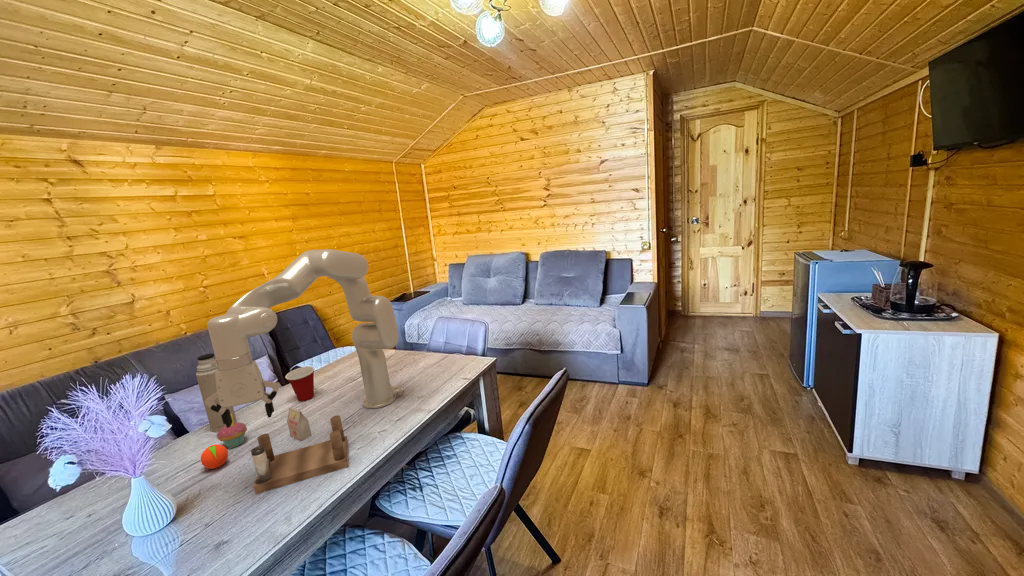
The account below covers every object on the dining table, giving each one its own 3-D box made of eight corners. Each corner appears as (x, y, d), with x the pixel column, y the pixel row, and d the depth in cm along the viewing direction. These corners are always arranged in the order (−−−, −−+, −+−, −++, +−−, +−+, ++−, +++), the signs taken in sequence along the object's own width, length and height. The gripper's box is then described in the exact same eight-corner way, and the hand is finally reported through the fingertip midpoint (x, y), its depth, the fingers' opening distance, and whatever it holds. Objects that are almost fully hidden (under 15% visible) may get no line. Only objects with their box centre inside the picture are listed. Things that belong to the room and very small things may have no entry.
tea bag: (300, 431, 145) (295, 405, 143) (311, 435, 142) (305, 408, 139) (290, 436, 142) (284, 409, 140) (301, 441, 139) (295, 414, 136)
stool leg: (260, 465, 122) (253, 438, 120) (273, 461, 123) (266, 434, 121) (257, 483, 114) (250, 454, 112) (271, 478, 115) (263, 449, 113)
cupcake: (255, 438, 144) (247, 406, 141) (232, 452, 136) (223, 419, 133) (237, 435, 146) (229, 404, 144) (214, 449, 139) (204, 417, 136)
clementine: (233, 466, 128) (227, 445, 127) (206, 478, 123) (200, 456, 122) (228, 456, 134) (222, 436, 132) (201, 467, 129) (196, 447, 128)
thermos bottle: (206, 433, 150) (186, 361, 144) (219, 422, 158) (200, 352, 152) (229, 430, 151) (210, 358, 145) (241, 419, 158) (223, 350, 153)
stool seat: (348, 442, 135) (342, 413, 133) (348, 466, 122) (341, 434, 120) (264, 466, 127) (256, 435, 124) (255, 494, 114) (246, 460, 112)
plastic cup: (285, 403, 168) (278, 376, 166) (306, 391, 178) (301, 365, 175) (304, 406, 164) (298, 378, 161) (325, 393, 174) (320, 367, 171)
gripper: (191, 374, 103) (208, 436, 106) (269, 358, 109) (284, 417, 112) (200, 364, 109) (216, 422, 113) (274, 349, 115) (287, 405, 119)
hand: (250, 420), depth 113 cm, fingers open, 9 cm apart
